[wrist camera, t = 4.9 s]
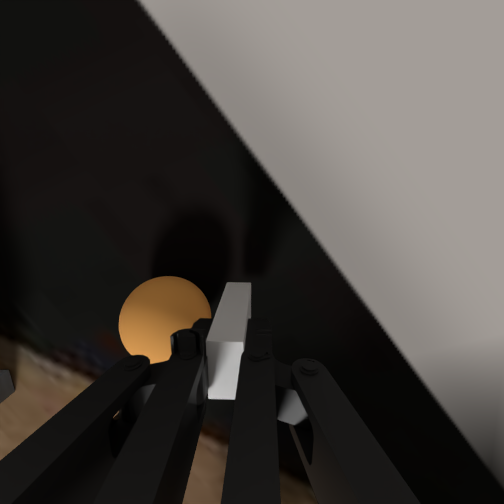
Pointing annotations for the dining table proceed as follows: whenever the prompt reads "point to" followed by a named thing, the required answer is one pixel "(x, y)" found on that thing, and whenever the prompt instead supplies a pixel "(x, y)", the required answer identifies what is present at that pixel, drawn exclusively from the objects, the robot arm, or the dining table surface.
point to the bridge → (5, 385)
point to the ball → (160, 315)
